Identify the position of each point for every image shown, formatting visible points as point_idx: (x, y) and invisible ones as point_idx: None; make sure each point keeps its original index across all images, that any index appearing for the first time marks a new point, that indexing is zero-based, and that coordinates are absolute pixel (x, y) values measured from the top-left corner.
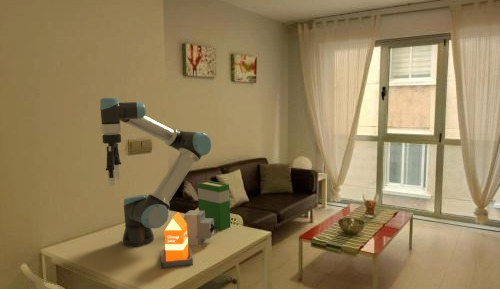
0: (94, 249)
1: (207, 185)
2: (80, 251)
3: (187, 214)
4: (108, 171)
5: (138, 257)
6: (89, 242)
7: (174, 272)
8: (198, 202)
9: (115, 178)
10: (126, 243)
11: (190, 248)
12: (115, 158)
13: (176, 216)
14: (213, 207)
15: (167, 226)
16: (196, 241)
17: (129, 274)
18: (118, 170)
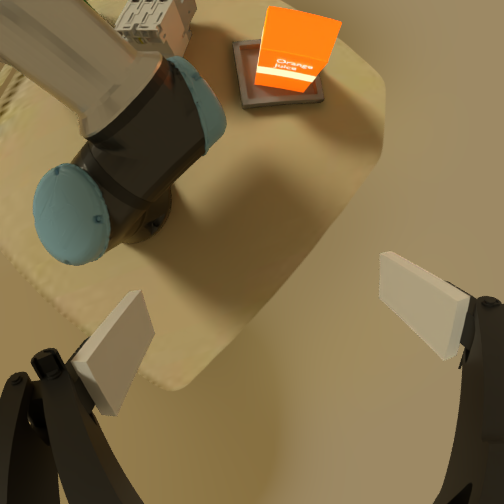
0: (182, 297)
1: None
2: (193, 324)
3: (157, 22)
4: (451, 344)
5: (247, 167)
6: None
7: (340, 77)
8: None
9: (149, 327)
10: (164, 222)
11: (242, 42)
12: (112, 467)
13: (305, 13)
14: None
15: (326, 49)
16: (186, 39)
17: (340, 168)
18: (116, 338)
